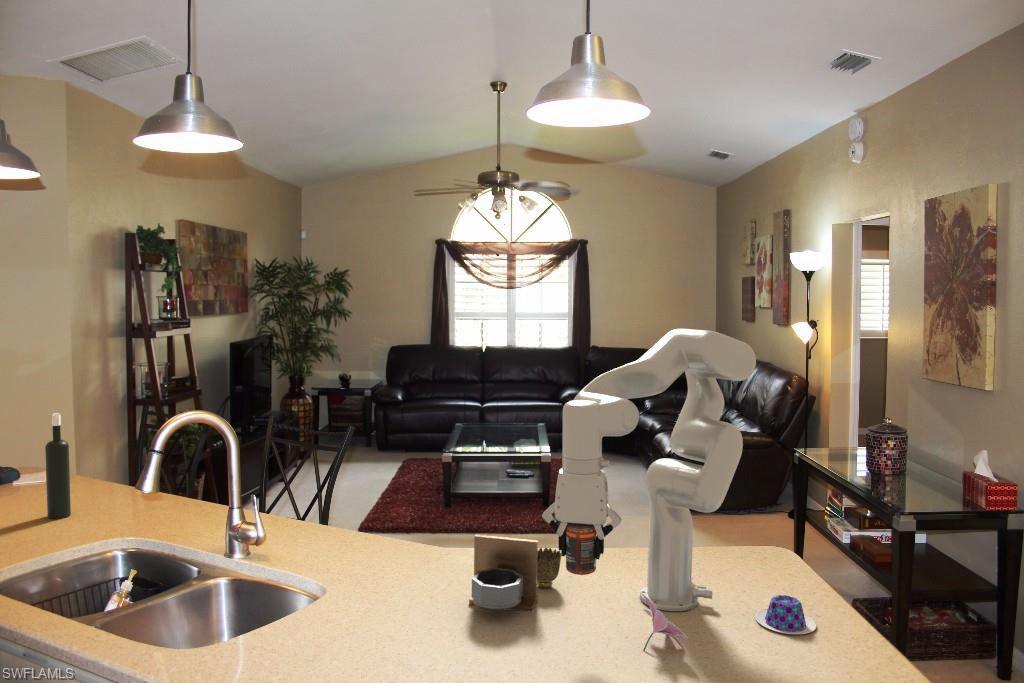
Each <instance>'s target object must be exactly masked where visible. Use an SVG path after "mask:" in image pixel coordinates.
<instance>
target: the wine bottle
mask: <svg viewBox="0 0 1024 683" xmlns="http://www.w3.org/2000/svg"><path fill="white" fill-rule="evenodd" d="M61 418H62V416H61V414H60V412H55V413H54V412H53V413H52V415H51V426H52V427H51V428H52V440H50V441H48V442H47V443H46V444H45V448H44V449H45V450H44V451H45V475H46V476H45V477H46V478H45V481H46V482H45V483H46V507H47V510H46V512H47V519H49V520H61V519H65V518H68V517H70V516H71V515H72V514H71V512H72V511H71V508H72V507H71V478H70V446H69V442H67V441H66V440H64V439H62V436H61V435H62V434H61V430H62V429H61V428H62V427H61V424H62V422H61V421H62V419H61Z"/></svg>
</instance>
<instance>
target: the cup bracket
mask: <svg viewBox="0 0 1024 683" xmlns="http://www.w3.org/2000/svg"><path fill="white" fill-rule="evenodd" d="M473 538H474V540H473V542H474V543H473V545H474V549H473V551H474V553H473V554H474V557H473V576H472V577H471V596H470V597H469V598H468V605H469V606H476V607H478V608H479V609H483V610H486V611H492V612H493V611H494V612H503V611H509V610H510V611H511V610H512V611H520V612H529V613H533V612H534V609H535V608H536V606H537V603H538V600H539V595H538V586H537V568H538V550H539V540H537V539H527V538H515V537H509V536H508V537H507V536H505V537H504V536H496V535H486V534H485V535H484V534H475V535H474V537H473Z"/></svg>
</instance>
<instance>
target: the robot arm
mask: <svg viewBox="0 0 1024 683" xmlns="http://www.w3.org/2000/svg"><path fill="white" fill-rule="evenodd" d="M756 366H757V357H756V354H755V351H754V350H753V347H751V345H749V344H748V343H747V342H745V341H742V340H739V339H736V338H734V337H731V336H730V335H729V336H728V335H727V334H724V333H720V332H717V331H713V330H710V329H709V330H708V329H694V328H693V329H692V328H675V329H672V330H670V331H668V332H667V333H666V334H665V335H663V336H662V337H661V338H660V339H659V340H658V341H656V342H655V344H654V345H652V346H651V347H650V348H649V349H648V350H647V351H646V352H645V353H643V354H642V355H641V356H640V357H639V358H638V359H637V360H635V361H632V362H629V363H626V364H624V365H621V366H619V367H617V368H613V369H612V370H610V371H607V372H604V373H602V374H600V375H599V376H597V377H595V378H593V380H591V381H590V382H589V383H588V384H587V385H586V386H584V387H583V388H582V389H581V390H580V391H579V392H578V393H577V394H576V395H575V397H574V398H573V400H569V401H568V402H565V403H564V405H563V408H562V452H561V454H562V459H561V460H562V462H561V464H562V467H561V468H560V469H559V471H558V475H557V479H556V480H557V482H556V489H555V499H554V500H555V501H554V502H553V503H552V504H551V505H549V507H547V509H546V510H544V511H543V513H542V514H541V518H542V519H543V520H544V521H545V522H546V523H548V524H549V526H550V528H551V529H552V530H553V531H555V533H556V535H557V536H558V551H560V553H561V557H566V527H567V525H568V524H569V523H573V524H577V523H581V524H586V525H594V527H595V530H596V533H597V534H596V540H595V558H596V560H600V557H601V555H604V551H605V538H606V536H608V535H609V534H610V533H611V532H612V531H613V530H615V528H617V527H618V526H619V525H620V524H621V523H622V518H621V516H620V515H619V514H618V513H617V512H616V511H615V510H614V509H613V508H612V506H610V505H609V487H608V479H607V472H606V471H605V470H603V469H605V468H610V460H609V459H608V460H607V459H604V457H603V455H602V450H603V447H602V446H603V444H602V442H603V437H623V436H625V435H628V434H630V433H631V432H633V431H634V429H636V427H637V425H638V424H639V419H640V412H639V410H638V407H637V406H636V405H635V403H634V402H633V401H631V399H638V398H640V399H641V398H646V397H651V396H655V395H658V394H661V393H663V392H665V391H666V390H667V389H668V388H669V387H670V386H672V384H673V383H674V382H675V381H676V380H677V379H678V378H679V377H680V376H681V375H682V374H684V373H685V378H686V384H687V394H686V398H685V401H684V404H683V406H682V409H681V410H680V413H679V416H678V418H677V420H676V423H675V425H674V427H673V430H672V432H671V435H670V438H669V445H670V446H669V447H670V449H671V450H672V452H673V453H675V454H676V455H677V456H679V457H683V458H685V459H689V460H693V461H697V462H701V463H704V464H703V465H701V464H696V463H692V462H690V461H689V462H688V461H683V460H680V459H675V458H668V457H665V458H659V459H657V460H655V461H653V462H652V463H651V464H650V465H649V467H648V469H647V471H646V475H645V487H646V488H645V489H646V494H647V498H648V507H649V508H648V509H649V513H648V514H649V519H648V520H649V521H648V522H649V524H648V525H649V526H648V548H647V549H648V552H647V554H648V555H647V576H646V577H647V579H646V580H647V582H646V583H647V584H646V586H644V587H643V588H641V589H640V591H639V599H640V601H642V603H643V604H645V605H646V606H648V607H650V606H649V604H648V603H647V601H646V600H645V598H644V597H643V595H642V594H644V595H645V596H646V597H647V598H648V599H649V600H650V601H651V602H652V603H653V604H654V606H655V607H656V609H657V610H660V611H666V612H685V611H689V610H692V609H694V608H696V607H697V605H698V602H699V600H698V599H699V598H703V599H711V600H712V599H713V589H710V588H707V585H702V584H701V585H697V584H696V583H694V582H693V579H694V578H693V577H692V574H693V573H692V571H693V568H692V567H693V544H694V542H693V541H694V521H693V516H692V514H691V511H690V510H693V511H696V512H700V513H706V514H707V513H708V514H710V513H713V512H716V511H717V510H718V509H719V508H720V507H721V506H722V504H723V502H724V500H725V497H726V496H727V493H728V491H729V488H730V486H731V483H732V482H733V478H734V476H735V473H736V470H737V468H738V465H739V462H740V460H741V457H742V453H743V447H744V443H743V441H744V440H743V436H742V432H741V430H740V429H739V428H738V427H737V426H736V425H734V424H733V423H729V422H726V421H721V417H722V414H723V411H724V409H725V399H724V398H725V397H724V394H723V392H722V389H721V388H720V385H719V384H718V382H717V379H720V380H728V381H734V382H735V381H736V382H741V381H745V380H747V379H748V378H750V376H752V375H753V373H754V371H755V369H756ZM629 399H630V400H629ZM552 514H554V516H553V515H552ZM608 517H609V519H611V521H610V522H609V523H607V524H606V525H604V524H605V523H606V522H607V518H608ZM641 593H642V594H641Z"/></svg>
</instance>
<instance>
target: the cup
mask: <svg viewBox="0 0 1024 683" xmlns="http://www.w3.org/2000/svg"><path fill="white" fill-rule="evenodd" d="M561 558H562V556H561V550H557V549H556V548H555V549H554V550H552V548H551V547H549V548H547V547H545V548H544V549H543V548H542V547H540V548H538V568H537V588H540V589H545V590H546V589H550V588H552V586H553V585H554V584H553V581H554V580H556V579H557V578H558V575H559V572H560V567H561V560H562V559H561Z"/></svg>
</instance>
